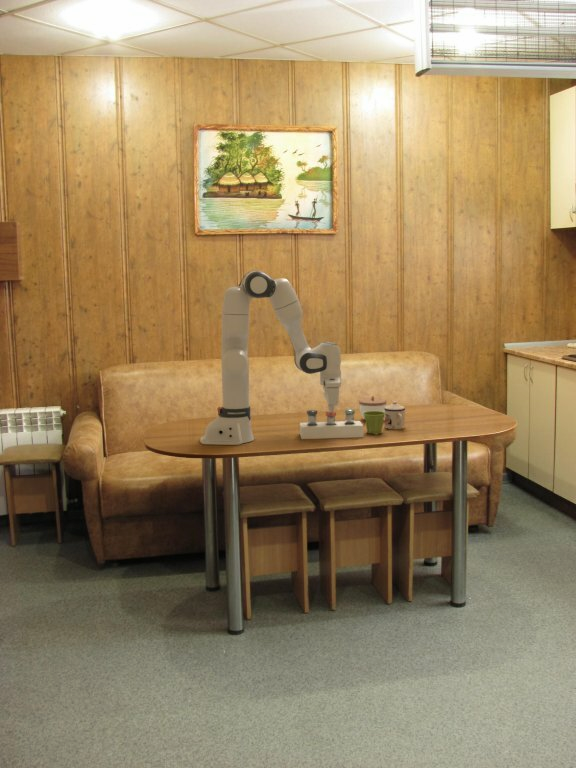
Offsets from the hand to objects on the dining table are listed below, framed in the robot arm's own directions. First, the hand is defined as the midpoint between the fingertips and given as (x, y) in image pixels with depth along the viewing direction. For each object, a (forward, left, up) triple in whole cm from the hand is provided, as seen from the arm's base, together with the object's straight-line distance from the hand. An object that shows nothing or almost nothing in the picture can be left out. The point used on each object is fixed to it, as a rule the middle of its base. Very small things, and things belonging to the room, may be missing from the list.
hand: (331, 412), depth 341 cm
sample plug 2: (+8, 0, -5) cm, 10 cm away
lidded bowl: (+23, +31, -10) cm, 40 cm away
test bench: (0, 0, -10) cm, 10 cm away
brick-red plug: (0, 0, -6) cm, 6 cm away
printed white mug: (+30, +11, -10) cm, 33 cm away
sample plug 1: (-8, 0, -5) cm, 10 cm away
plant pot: (+19, +3, -10) cm, 22 cm away
